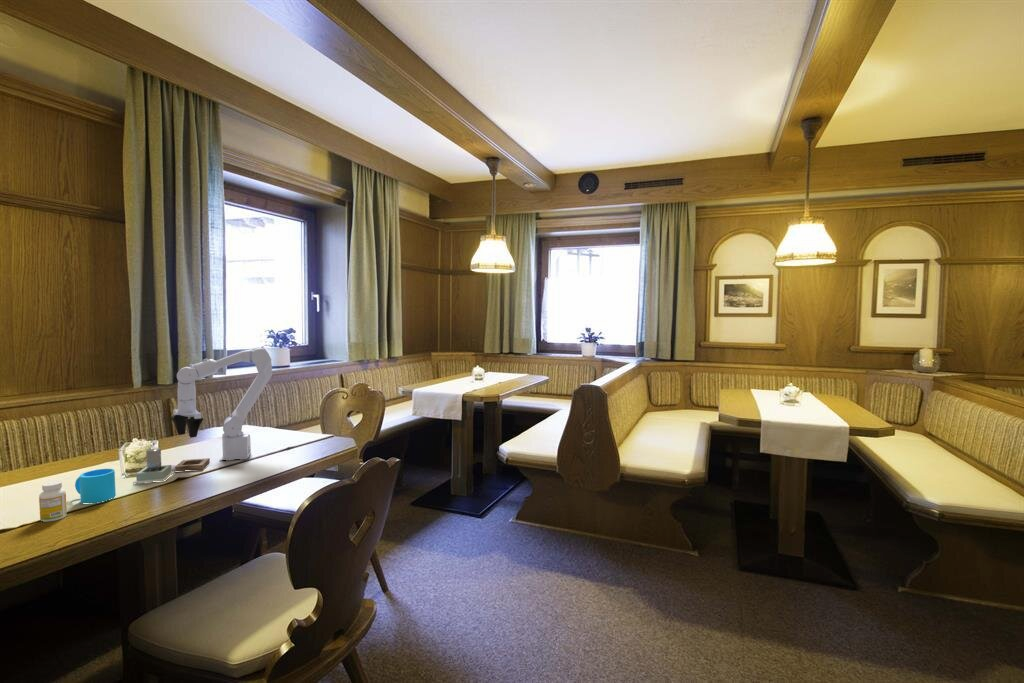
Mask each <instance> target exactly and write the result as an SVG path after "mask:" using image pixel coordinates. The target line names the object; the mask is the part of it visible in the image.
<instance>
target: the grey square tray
mask: <svg viewBox="0 0 1024 683" xmlns="http://www.w3.org/2000/svg"><path fill="white" fill-rule="evenodd" d="M161 466H162V470H161V471H153V472H147V466H145V467H144V468H141V470H139V471H137V473H136V474H135V475H136V477H135V478H136V479H135V480H134V481H133V482H132V483H133V484H132V485H135V484H134V483H144V484H146V483H145V482H153V481H164V480H166V479H167V478H168V477H169V476H170V475H172V474H173V473H174V472H175V470H174V471H172V469H173V468H172V464H165V465H164V464H163V465H161ZM175 473H176V472H175ZM172 476H173V475H172Z"/></svg>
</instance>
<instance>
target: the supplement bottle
mask: <svg viewBox="0 0 1024 683" xmlns="http://www.w3.org/2000/svg"><path fill="white" fill-rule="evenodd" d="M41 486H42V487H41V489H42V492H41V493H39V495H38V503H39V519H40V521H41V522H42V521H43V522H44V523H49V522H55V521H58V520H61V519H64V518H65V517H67V515H68V513H67V511H68V508H67V492H66V489H64V488H62V487H63V481H60V480H55V481H49V482H46V483H43V484H42V485H41Z"/></svg>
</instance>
